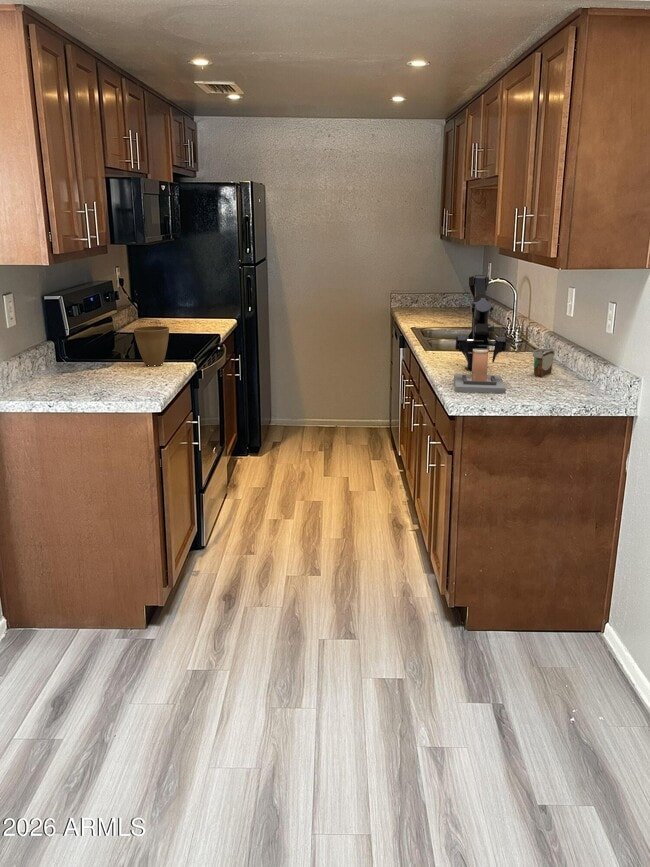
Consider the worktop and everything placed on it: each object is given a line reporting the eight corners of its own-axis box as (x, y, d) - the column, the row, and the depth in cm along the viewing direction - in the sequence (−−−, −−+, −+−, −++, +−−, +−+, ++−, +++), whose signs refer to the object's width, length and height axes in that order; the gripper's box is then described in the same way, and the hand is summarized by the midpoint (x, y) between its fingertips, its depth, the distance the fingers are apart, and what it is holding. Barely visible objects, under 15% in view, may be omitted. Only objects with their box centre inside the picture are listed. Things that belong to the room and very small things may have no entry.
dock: (453, 378, 297) (454, 370, 296) (499, 379, 295) (500, 372, 294) (455, 391, 275) (455, 383, 274) (505, 393, 272) (506, 385, 271)
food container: (538, 371, 312) (540, 347, 309) (552, 373, 308) (554, 349, 305) (525, 375, 303) (527, 351, 300) (540, 378, 299) (542, 353, 296)
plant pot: (168, 361, 330) (166, 325, 326) (173, 367, 317) (171, 329, 312) (134, 362, 326) (131, 326, 321) (137, 369, 312) (134, 331, 308)
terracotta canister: (474, 378, 287) (476, 347, 283) (489, 380, 284) (490, 349, 280) (468, 381, 282) (470, 350, 278) (483, 383, 279) (485, 351, 275)
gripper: (457, 314, 281) (456, 348, 273) (507, 315, 278) (508, 350, 271) (455, 332, 290) (454, 365, 283) (504, 333, 288) (505, 367, 281)
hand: (480, 361), depth 279 cm, fingers open, 9 cm apart
